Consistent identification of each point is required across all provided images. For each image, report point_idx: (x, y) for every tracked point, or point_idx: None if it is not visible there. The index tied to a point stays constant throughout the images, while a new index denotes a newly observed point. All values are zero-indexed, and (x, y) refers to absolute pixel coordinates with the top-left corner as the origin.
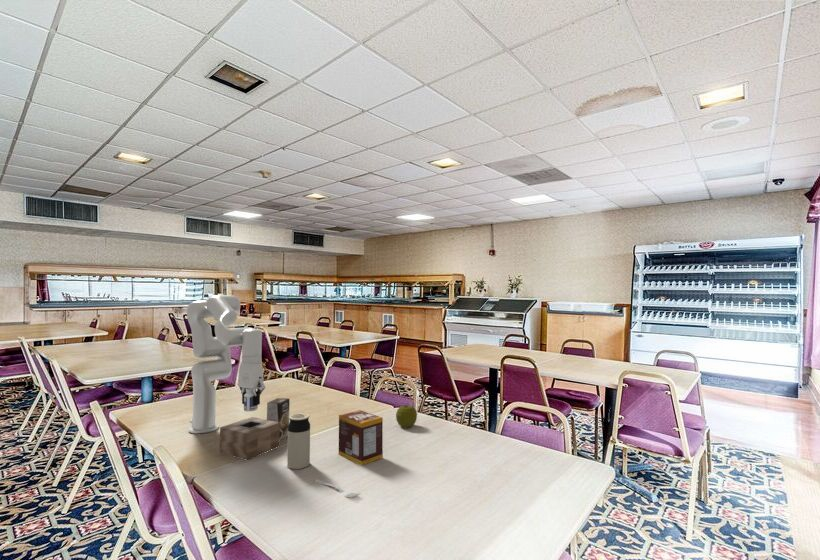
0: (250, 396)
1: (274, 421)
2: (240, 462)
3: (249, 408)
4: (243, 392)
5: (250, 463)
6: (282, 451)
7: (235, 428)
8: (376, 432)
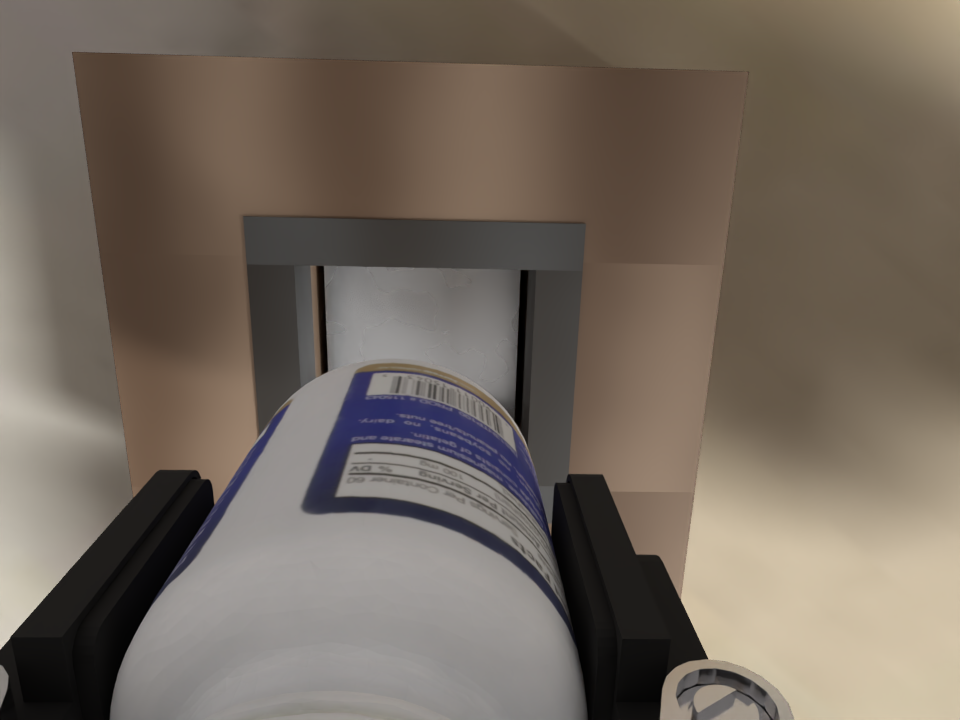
0: (168, 597)
1: None
2: (229, 2)
3: (289, 406)
4: (658, 716)
5: (118, 34)
6: (119, 406)
7: (478, 151)
8: None
